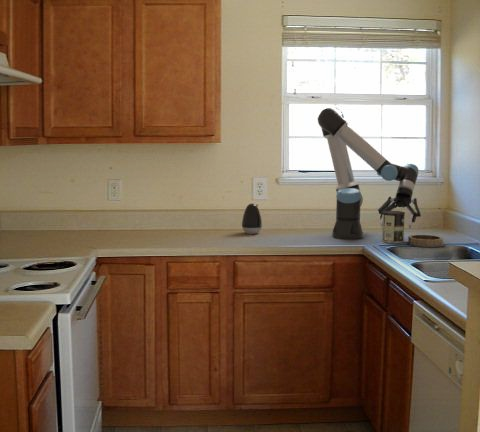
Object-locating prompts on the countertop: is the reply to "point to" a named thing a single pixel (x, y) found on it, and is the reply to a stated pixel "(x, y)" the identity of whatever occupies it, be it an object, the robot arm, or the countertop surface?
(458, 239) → the countertop surface
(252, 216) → the black egg-shaped speaker
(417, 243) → the collar
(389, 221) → the coffee can
